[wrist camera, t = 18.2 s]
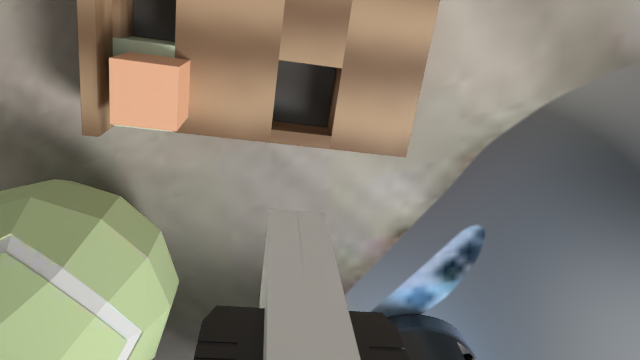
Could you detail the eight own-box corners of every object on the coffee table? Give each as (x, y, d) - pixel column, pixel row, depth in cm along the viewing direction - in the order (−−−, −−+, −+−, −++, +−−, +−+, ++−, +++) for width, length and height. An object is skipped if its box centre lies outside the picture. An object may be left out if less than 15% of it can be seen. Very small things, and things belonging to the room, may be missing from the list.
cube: (188, 117, 32) (176, 131, 28) (129, 110, 31) (109, 123, 28) (190, 60, 31) (179, 66, 27) (129, 51, 30) (108, 57, 26)
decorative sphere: (-39, 237, 37) (-230, 378, 23) (85, 117, 34) (-45, 191, 20) (109, 342, 42) (26, 510, 28) (225, 243, 39) (199, 372, 25)
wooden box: (395, 146, 38) (417, 170, 32) (113, 114, 34) (82, 135, 29) (427, -8, 33) (458, -12, 28) (110, -60, 30) (73, -76, 25)
